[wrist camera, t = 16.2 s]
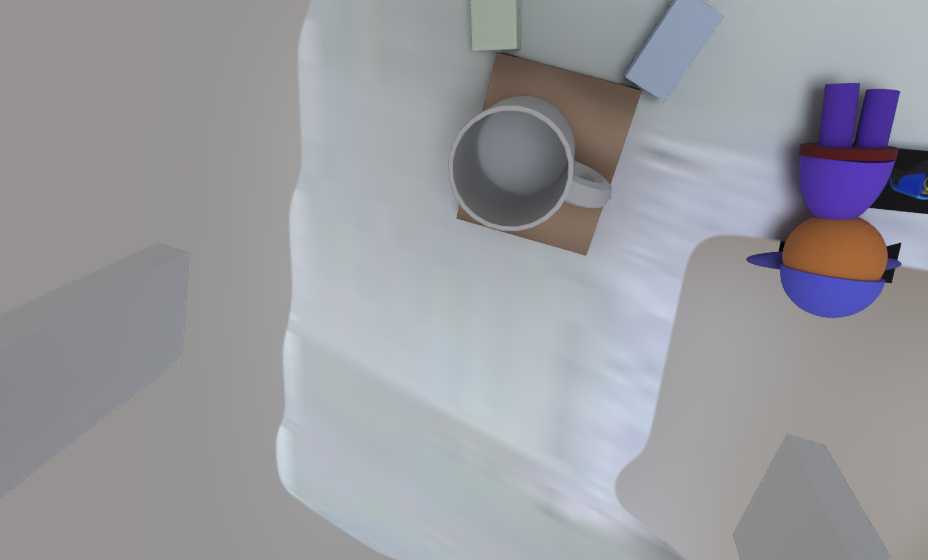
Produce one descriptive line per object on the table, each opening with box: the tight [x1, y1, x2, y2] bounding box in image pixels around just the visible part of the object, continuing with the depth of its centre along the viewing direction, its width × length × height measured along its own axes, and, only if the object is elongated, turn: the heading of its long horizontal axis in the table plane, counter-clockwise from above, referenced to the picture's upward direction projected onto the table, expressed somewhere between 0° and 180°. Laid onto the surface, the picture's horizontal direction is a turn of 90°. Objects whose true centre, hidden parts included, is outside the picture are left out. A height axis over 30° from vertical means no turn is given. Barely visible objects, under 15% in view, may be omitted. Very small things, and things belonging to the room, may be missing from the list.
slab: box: [457, 53, 642, 255], centre depth 45 cm, size 12×10×2 cm
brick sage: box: [471, 0, 521, 51], centre depth 42 cm, size 6×3×3 cm, turn 2°
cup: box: [448, 96, 611, 231], centre depth 40 cm, size 7×10×9 cm
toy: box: [746, 83, 928, 318], centre depth 41 cm, size 11×8×15 cm
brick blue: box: [623, 0, 724, 102], centre depth 41 cm, size 6×3×3 cm, turn 150°
